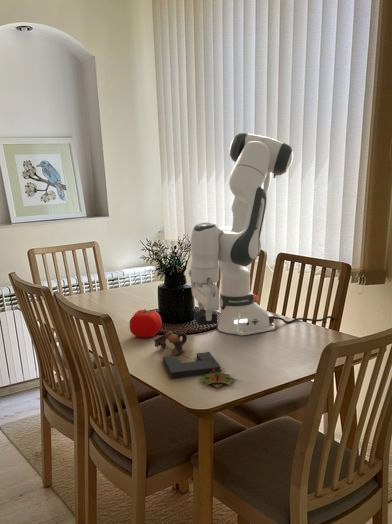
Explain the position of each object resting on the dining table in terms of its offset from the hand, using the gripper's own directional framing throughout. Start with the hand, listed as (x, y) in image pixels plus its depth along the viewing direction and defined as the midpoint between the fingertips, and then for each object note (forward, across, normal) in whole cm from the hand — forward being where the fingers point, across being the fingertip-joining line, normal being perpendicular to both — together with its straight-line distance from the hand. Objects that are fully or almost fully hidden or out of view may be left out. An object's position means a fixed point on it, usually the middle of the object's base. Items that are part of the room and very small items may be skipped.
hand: (205, 317), depth 179 cm
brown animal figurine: (+16, +13, +8) cm, 22 cm away
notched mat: (+16, -4, +6) cm, 17 cm away
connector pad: (+2, 0, 0) cm, 2 cm away
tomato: (+16, +32, +14) cm, 39 cm away
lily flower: (+16, -17, +1) cm, 23 cm away
